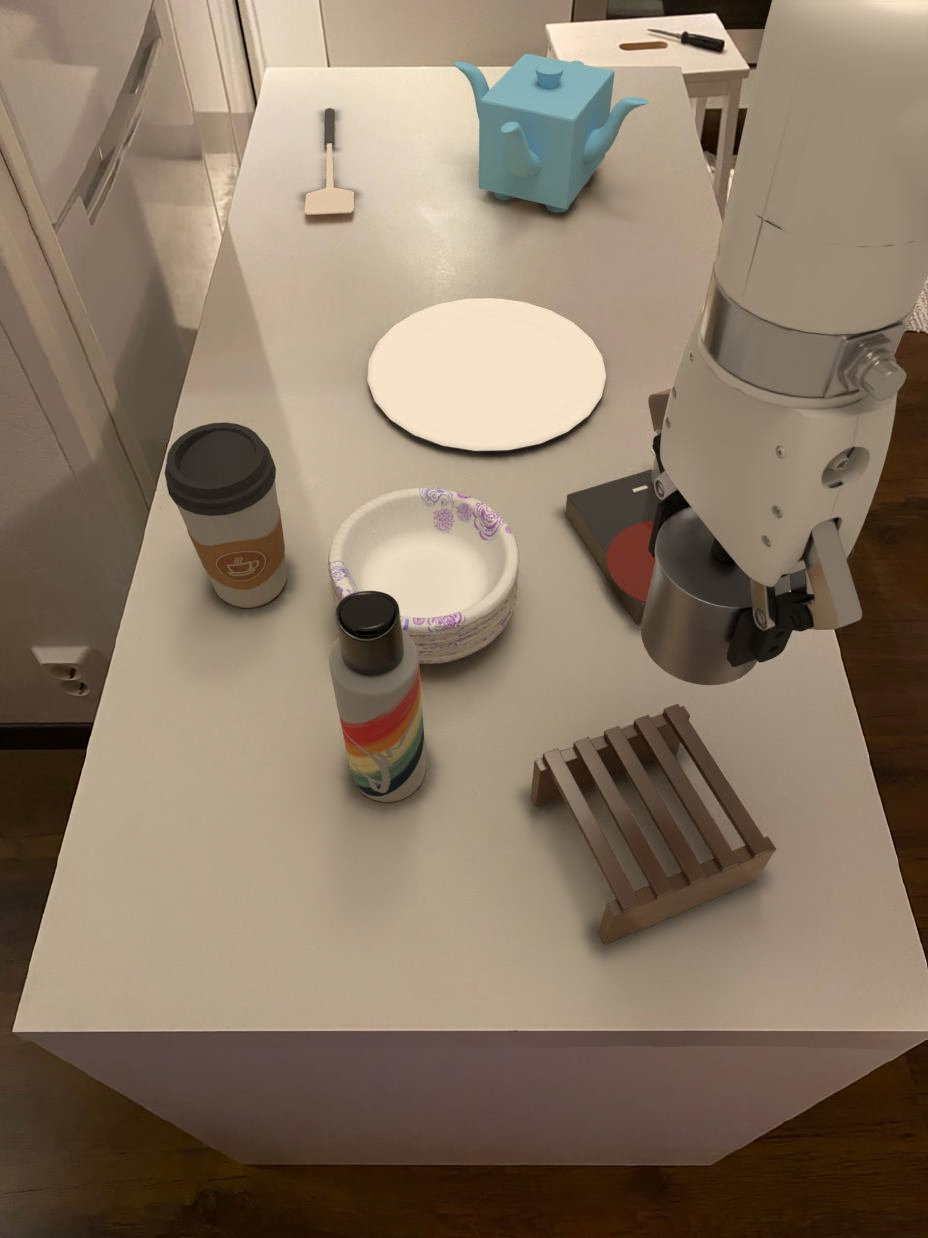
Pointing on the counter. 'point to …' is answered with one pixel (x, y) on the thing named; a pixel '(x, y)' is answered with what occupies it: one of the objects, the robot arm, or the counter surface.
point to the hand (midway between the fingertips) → (712, 597)
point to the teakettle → (545, 128)
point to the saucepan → (696, 603)
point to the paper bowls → (431, 567)
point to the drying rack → (628, 755)
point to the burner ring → (632, 560)
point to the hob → (613, 520)
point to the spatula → (329, 181)
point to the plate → (486, 375)
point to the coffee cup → (230, 510)
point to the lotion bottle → (378, 696)
